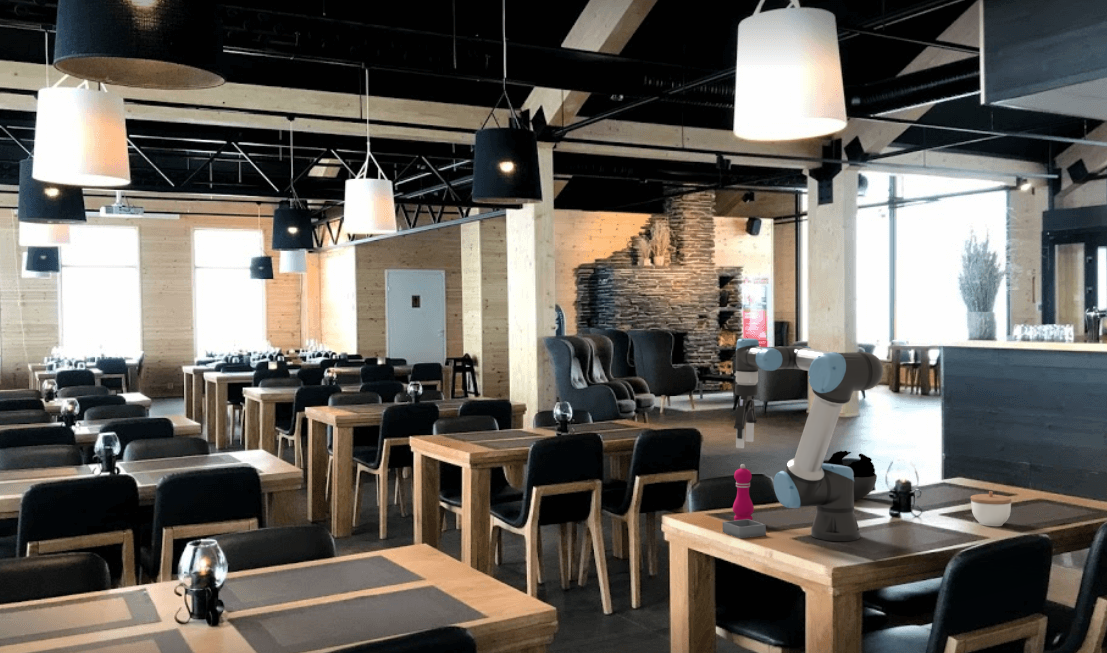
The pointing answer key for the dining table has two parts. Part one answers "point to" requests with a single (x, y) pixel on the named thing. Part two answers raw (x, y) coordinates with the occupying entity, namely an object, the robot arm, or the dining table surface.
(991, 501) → the lidded bowl
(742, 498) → the pepper mill
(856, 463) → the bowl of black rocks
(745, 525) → the tray
